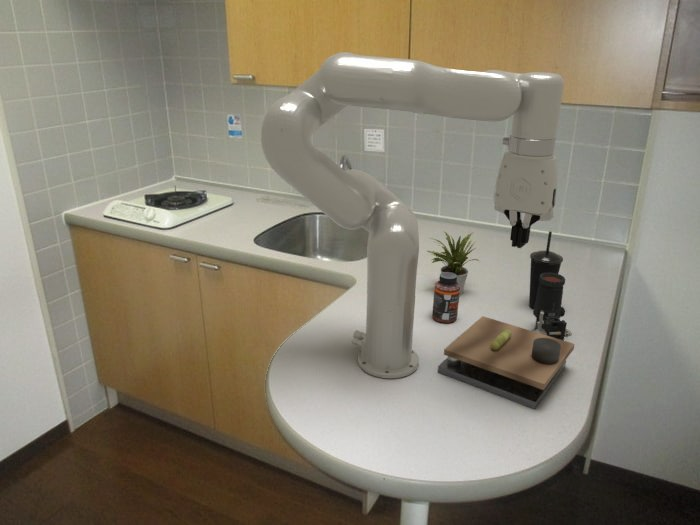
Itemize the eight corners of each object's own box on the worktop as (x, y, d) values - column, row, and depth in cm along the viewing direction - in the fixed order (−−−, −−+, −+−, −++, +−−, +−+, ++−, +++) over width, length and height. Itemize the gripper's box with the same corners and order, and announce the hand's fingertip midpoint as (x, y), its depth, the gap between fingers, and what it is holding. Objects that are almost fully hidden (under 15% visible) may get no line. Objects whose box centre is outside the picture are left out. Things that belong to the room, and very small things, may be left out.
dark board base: (437, 372, 116) (439, 354, 115) (475, 337, 130) (477, 320, 128) (534, 409, 105) (537, 389, 104) (565, 366, 119) (568, 349, 117)
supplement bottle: (451, 326, 134) (455, 282, 130) (428, 320, 137) (431, 276, 133) (460, 316, 139) (464, 273, 135) (437, 310, 142) (441, 268, 138)
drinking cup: (532, 297, 149) (543, 224, 142) (560, 307, 144) (573, 232, 137) (517, 306, 144) (527, 231, 137) (545, 317, 139) (557, 239, 132)
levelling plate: (443, 354, 114) (445, 336, 112) (481, 320, 127) (483, 303, 126) (543, 390, 103) (546, 369, 101) (573, 349, 116) (577, 330, 115)
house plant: (441, 275, 162) (445, 219, 156) (487, 287, 155) (494, 230, 149) (416, 292, 152) (420, 233, 145) (465, 306, 144) (471, 245, 138)
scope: (544, 288, 121) (527, 270, 130) (535, 346, 126) (520, 324, 136) (581, 288, 122) (563, 270, 131) (571, 345, 127) (554, 323, 136)
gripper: (482, 144, 102) (473, 242, 108) (568, 156, 93) (551, 260, 100) (499, 139, 107) (489, 232, 114) (581, 149, 99) (565, 248, 106)
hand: (518, 245), depth 107 cm, fingers closed
